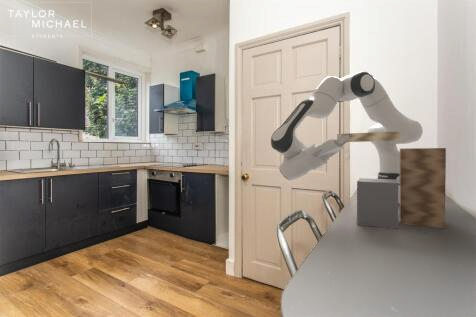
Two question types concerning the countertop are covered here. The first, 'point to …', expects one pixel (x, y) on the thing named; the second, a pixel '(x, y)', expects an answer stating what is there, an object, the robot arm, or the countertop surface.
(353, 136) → the bar
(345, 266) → the countertop surface
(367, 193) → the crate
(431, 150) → the pedestal
